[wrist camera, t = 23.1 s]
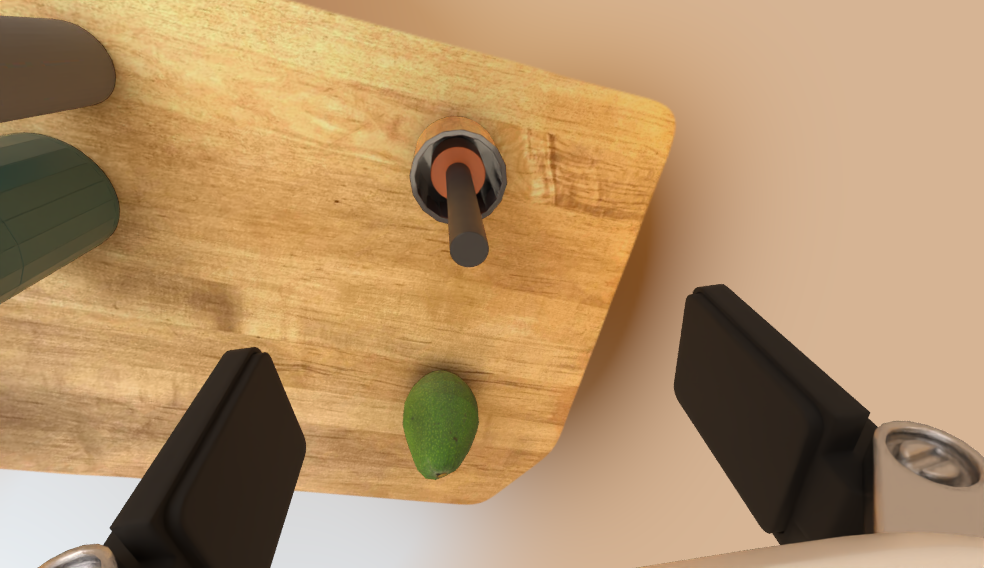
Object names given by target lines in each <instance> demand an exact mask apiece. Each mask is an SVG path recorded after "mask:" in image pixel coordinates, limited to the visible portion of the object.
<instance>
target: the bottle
mask: <svg viewBox="0 0 984 568" xmlns="http://www.w3.org/2000/svg"><path fill="white" fill-rule="evenodd" d="M114 86H115V70H114V67H113V64H112V61H111V59H110V57H109V55H108V53H107V52H106V50H105V49H104V47H103V46H102V45H101V44H100V42H99V41H98V40H97V39H95V38H94V37H93V36H92V35H91V34H90V33H89V32H87V31H86V30H84V29H82V28H81V27H79V26H77V25H75V24H72V23H69V22H66V21H62V20H55V19H45V18H29V17H13V16H0V123H2V122H7V121H13V120H18V119H23V118H29V117H34V116H39V115H45V114H50V113H55V112H61V111H66V110H71V109H76V108H81V107H86V106H91V105H95V104H98V103H100V102H102V101H104V100H105V99H107V98H108V97H109V96H110V94H111V93H112V91H113V89H114Z"/></svg>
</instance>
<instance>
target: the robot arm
mask: <svg viewBox="0 0 984 568" xmlns="http://www.w3.org/2000/svg"><path fill="white" fill-rule="evenodd" d="M678 352H679V353H678V359H677V366H676V373H675V380H674V391H675V395H676V397H677V400H678V401H679V403H680V404H681V406H682V407H683V409H684V410H685V412H686V414H687V415H688V417H689V418H690V420H691V421H692V423H693V424H694V426H695V427H696V429H697V430H698V432H699V433H700V435H701V436H702V438H703V439H704V441H705V443H706V444H707V446H708V447H709V449H710V450H711V452H712V453H713V455H714V456H715V458H716V460H717V461H718V463H719V464H720V465H721V467H722V469H723V470H724V472H725V473H726V475H727V476H728V478H729V479H730V481H731V482H732V484H733V486H734V487H735V489H736V490H737V491H738V493H739V495H740V496H741V498H742V499H743V501H744V502H745V504H746V505H747V507H748V508H749V510H750V512H751V513H752V515H753V516H754V518H755V519H756V521H757V522H758V524H759V525H760V527H761V528H762V529H763V530H764V531H765V532H767V533H769V534H770V533H773V535H774V536H775V538H776V539H777V541H778V542H779V544H780V545H779V546H772V547H764V548H758V549H752V550H744V551H738V552H732V553H726V554H719V555H713V556H707V557H700V558H694V559H688V560H682V561H675V562H669V563H663V564H657V565H650V566H644V567H638V568H984V458H983V457H982V456H981V454H980V453H979V452H977V451H976V450H975V449H973V448H972V447H970V446H969V445H968V444H966V443H965V442H964V441H962V440H960V439H958V438H956V437H955V436H953V435H951V434H948V433H947V432H945V431H942V430H939V429H937V428H934V427H931V426H928V425H925V424H920V423H915V422H910V421H892V422H888V423H884V424H882V425H881V426H879V427H877V426H876V425H875V424H874V423H873V422H872V421H871V420H870V419H868V417H869V414H870V412H869V411H868V410H867V409H866V408H865V407H863V406H862V405H861V404H860V403H859V402H858V401H857V400H855V399H854V398H853V397H852V396H851V395H850V394H849V393H847V392H846V391H845V390H844V389H843V388H842V387H841V386H839V385H838V384H837V383H836V382H835V381H834V380H833V379H831V378H830V377H829V376H828V375H827V374H826V373H825V372H824V371H822V370H821V369H820V368H819V367H818V366H817V365H816V364H814V363H813V362H812V361H811V360H810V359H809V358H808V357H806V356H805V355H804V354H803V353H802V352H801V351H799V350H798V349H797V348H796V347H795V346H794V345H793V344H792V343H791V342H790V341H788V340H787V339H786V338H785V337H784V336H783V335H782V334H780V333H779V332H778V331H777V330H776V329H775V328H773V327H772V326H771V325H770V324H769V323H768V322H767V321H766V320H764V319H763V318H762V317H761V316H760V315H759V314H758V313H757V312H755V311H754V310H753V309H752V308H751V307H750V306H749V305H747V304H746V303H745V302H744V301H743V300H741V299H740V297H738V296H737V295H736V294H735V293H734V292H733V291H732V290H730V289H729V288H728V287H727V286H725V285H724V284H718V285H710V286H703V287H697V288H695V290H694V291H693V294H691V295H688V296H687V298H686V302H685V309H684V316H683V323H682V330H681V338H680V344H679V351H678ZM305 453H306V442H305V438H304V435H303V433H302V430H301V428H300V426H299V423H298V421H297V418H296V416H295V414H294V411H293V409H292V407H291V404H290V402H289V399H288V397H287V395H286V392H285V390H284V388H283V385H282V383H281V380H280V378H279V376H278V373H277V371H276V368H275V366H274V364H273V361H272V359H271V357H270V355H269V354H268V353H266V352H264V353H262V352H261V350H260V349H258V348H256V347H251V348H244V349H237V350H230V351H227V352H226V353H225V354H224V355H223V356H222V358H221V359H220V361H219V362H218V364H217V365H216V367H215V368H214V370H213V371H212V373H211V375H210V376H209V378H208V379H207V381H206V382H205V384H204V385H203V387H202V388H201V390H200V391H199V393H198V394H197V396H196V397H195V399H194V400H193V402H192V403H191V405H190V406H189V408H188V409H187V411H186V413H185V414H184V416H183V417H182V419H181V420H180V422H179V423H178V425H177V426H176V428H175V429H174V431H173V432H172V434H171V435H170V437H169V438H168V440H167V441H166V443H165V444H164V446H163V447H162V449H161V451H160V452H159V454H158V455H157V457H156V458H155V460H154V461H153V463H152V464H151V466H150V467H149V469H148V470H147V472H146V473H145V475H144V476H143V478H142V479H141V481H140V483H139V484H138V485H137V487H136V489H135V490H134V492H133V493H132V495H131V496H130V498H129V499H128V501H127V502H126V504H125V505H124V507H123V508H122V510H121V511H120V513H119V514H118V516H117V517H116V519H115V520H114V522H113V523H112V525H111V527H110V529H111V530H112V532H111V534H110V535H109V537H108V538H107V540H106V542H105V543H104V545H100V544H90V545H82V546H79V547H76V548H73V549H70V550H67V551H65V552H63V553H62V554H59V555H58V556H56V557H54V558H52V559H50V560H48V561H47V562H45V563H44V564H42V565H41V566H40V567H38V568H270V567H271V563H272V560H273V557H274V554H275V551H276V547H277V544H278V541H279V538H280V534H281V531H282V528H283V525H284V522H285V518H286V515H287V512H288V509H289V505H290V502H291V499H292V496H293V493H294V489H295V486H296V483H297V480H298V476H299V473H300V470H301V467H302V463H303V460H304V457H305Z"/></svg>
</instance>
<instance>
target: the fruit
mask: <svg viewBox="0 0 984 568" xmlns="http://www.w3.org/2000/svg"><path fill="white" fill-rule="evenodd" d="M478 424H479V419H478V407H477V401H476V399H475V396H474V394H473V393H472V391H471V389H470V388H469V386H468V385H467V384H466V383H465V382H464V381H463V380H462V379H461V378H460V377H458V376H457V375H455V374H453V373H451V372H448V371H443V370H438V371H433V372H431V373H429V374H427V375H425V376H424V377H422V378H421V379H420V380H419V381H418V382H417V383H416V384H415V385H414V386H413V388H412V389H411V391H410V392H409V395H408V397H407V399H406V401H405V405H404V413H403V428H404V432H405V436H406V440H407V443H408V446H409V449H410V452H411V454H412V457H413V460H414V463H415V465H416V467H417V469H418V471H419V472H420V473H421V474H422V475H423V476H424V477H425V478H426V479H434V480H436V479H439V478H442V477H444V476H446V475H448V474H450V473H452V472H454V471H455V470H456V469H457V468H458V467H459V466H460V465H461V463H462V462H463V460H464V458H465V457H466V455H467V454H468V452H469V450H470V448H471V445H472V443H473V440H474V438H475V435H476V432H477V429H478Z"/></svg>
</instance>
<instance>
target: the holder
mask: <svg viewBox="0 0 984 568" xmlns="http://www.w3.org/2000/svg"><path fill="white" fill-rule="evenodd" d="M454 137H458V138H464V139H466V140H468V141H470V142H471V143H473V144H474V145H475V146H476V148H477V149H478V151H479V153H480V155H481V158H482V161H483V164H484V167H485V174H486V175H485V181H484V184H483V186H482V188H481V190H480V191H479V192H478V193H477V194H476V197H477V201H478V205H479V209H480V213H481V217H482V219H483V218H485V217H487V216H489V215H490V214H491V213H492V212H493V210H494V209H495V208H496V207H497V206H498V204H499V203H500V202H501V201H502V198H503V195H504V191H505V188H506V185H507V176H506V165H505V163H504V161H503V159H502V157H501V155H500V153H499V151H498V149H497V147H496V145H495V143H494V142H493V140H492V138H491V136H490V134H489V133H488V132H487V131H486V130H485V129H484V128H483V127H482V126H481V125H480V124H478V123H477V122H475V121H473V120H471V119H468V118H465V117H460V116H450V117H445V118H442V119H439V120H437V121H435V122H433V123H432V124H430V125H429V126H428V127H427V128H426V129H425V130H424V131H423V133H422V134H421V136H420V137H419V139H418V141H417V144H416V149H415V153H414V158H413V162H412V167H411V171H410V182H411V187H412V193H413V196H414V197H415V199H416V201H417V202H418V204H419V205H420V207H421V208H422V210H423V211H424V212H426V213H427V214H428V215H430V216H431V217H433V218H434V219H435V220H437V221H439V222H442V223H446V224H448V207H447V198H445V197H443V196H442V195H441V194H439V193H438V192H437V190H436V189H435V187H434V186H433V183H432V180H431V159H432V155H433V152H434V150H435V149H436V147H437V146H438V145H439V144H440V143H441V142H443V141H444V140H446V139H449V138H454Z"/></svg>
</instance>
